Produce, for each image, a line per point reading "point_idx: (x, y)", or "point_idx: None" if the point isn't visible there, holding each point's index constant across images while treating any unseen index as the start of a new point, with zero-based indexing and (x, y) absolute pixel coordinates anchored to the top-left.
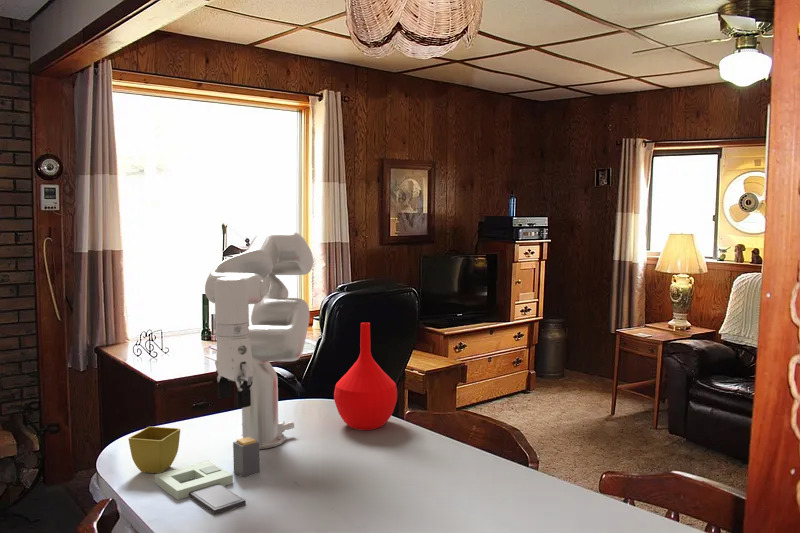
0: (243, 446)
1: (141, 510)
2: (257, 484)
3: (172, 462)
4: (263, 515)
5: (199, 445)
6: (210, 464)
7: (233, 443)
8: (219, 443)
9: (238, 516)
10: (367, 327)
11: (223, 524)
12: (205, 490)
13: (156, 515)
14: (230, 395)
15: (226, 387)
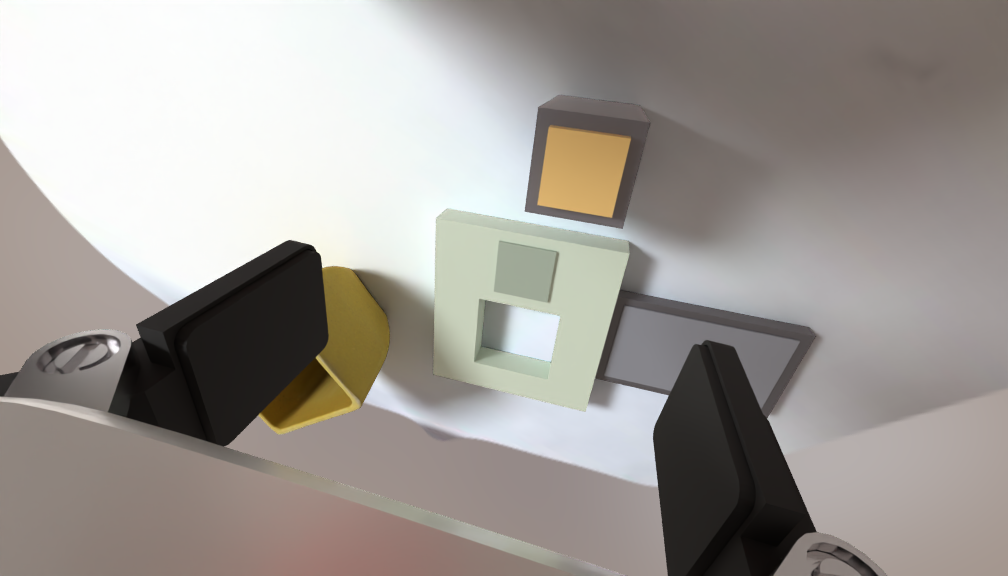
0: (622, 221)
1: (566, 456)
2: (722, 192)
3: (350, 272)
4: (933, 348)
5: (211, 83)
6: (477, 238)
7: (528, 209)
8: (223, 2)
9: (844, 385)
10: None
11: (833, 430)
12: (628, 352)
13: (620, 458)
14: (312, 264)
15: (252, 350)
